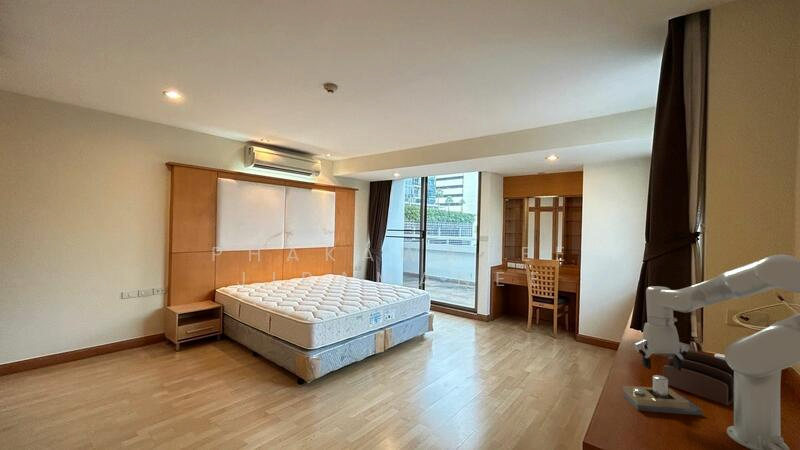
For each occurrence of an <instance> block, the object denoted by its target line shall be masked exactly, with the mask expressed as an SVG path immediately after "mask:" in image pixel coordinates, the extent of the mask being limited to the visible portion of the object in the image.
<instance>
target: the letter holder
mask: <svg viewBox="0 0 800 450" xmlns="http://www.w3.org/2000/svg"><path fill="white" fill-rule="evenodd" d="M680 350H682V348H680ZM671 355H672V356H669V357H668V358H667V365H664V366H662V376H663V377H666V378H667V379H668V387H673V388H675V389H678V390H681V391H683V390H684V392H686V391H687V393H689V392H690V394H692V393H693V394H692V395H695V394H696V395H695V396H697V397H701V398H704V397H705V398H704V399H707V398H708V399H707V400H710V399H711V400H710V401H712V400H714V401H713V402H715V401H717V402H716V403H718V402H720V403H719V404H721V403H722V404H721V405H724V404H725V406H727V405H728V406H729V404H730V405H731V404H733V403H734V370H733V369H732V368H730V366H729V365H728V364H727V362H726V361H725V360H723V359H720V358H717V357H714V356H713V355H709V354H706V353H704V352H703V353H702V352H698V351H693V350H690V349H689V350H688V352H687V354H686V355H685V356H684V357H683V359H682V367H681V371H679V370H677V369H676V368H674V367H673V356H675V355H674V354H671Z"/></svg>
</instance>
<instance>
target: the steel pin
mask: <svg viewBox="0 0 800 450" xmlns="http://www.w3.org/2000/svg"><path fill="white" fill-rule="evenodd" d="M652 388H653V396H654V397H655V398H660V399H668V389H669V385H668V379H667V378H666V377H663V375H660V374H654V375H652Z"/></svg>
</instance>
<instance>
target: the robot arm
mask: <svg viewBox="0 0 800 450" xmlns="http://www.w3.org/2000/svg"><path fill="white" fill-rule="evenodd" d="M776 289H782V290H785V291H788V292H793V293H795V294H796V293H797V294H800V259H799V258H797V257H796V256H793V255H791V254H790V255H789V254H784V253H783V254H774V255H769V256H767V257H763V258H762V259H759V260H757V261H754V262H751V263H748V264H745V265H742V266H739V267H737V268H732V269H730V270H727V271H725V272H722V273H720V274H719V275H718V276H715V277H714V278H711V279H709V280H704V281H702V282H700V283H696V284H694V285H690V286H687V287H683V288H680V289H671V288H670V287H667V286H659V285H656V286H653V285H651V286H648V287H647V288H646V289H645V296H646V297H645V299H646V300H645V301H646V319H647V322H645V323H644V325H643V332H642V339H641V340H639V341H638V342H635V343H634V344H633V346H634V348H635V349H636V350H637V352H638V354H640V355H641V356H642V365H643V366H644V367H645V368H646V369H648V370H651V369H652V361H651V360H652V359H651V357H650V356H651V355H653V354H659V355H660V354H664V355H665V354H666V355H672V354H674V355H675V356H673V367H674V368H676V369H677V370H679V371H681V367H682V359H683V357H684V356H685V355H686V354H687V352H688V350H689V351H690V346H689V345H687V344H685V343H682V342H681V341H680V338H679V333H678V329H677V327H676V325H675V323H677V322H678V319H677V317H674V311H676V312H679V313H691V312H693V311H695V310H697V309H701V308H704V307H707V306H710V305H714V304H717V303H721V302H725V301H728V300H733V299H734V300H735V299H736V300H737V299H743V298H747V297H751V296H755V295H758V294H761V293H764V292H768V291H772V290H776ZM642 348H643V349H642ZM680 349H682V350H680ZM724 355H725V360H726V362H727V364H728V365H729V366H730V368H732V369H733V370H734V401H733V425H730V426H728V427H727V428H726V433H727V435H728V436H729V438H730V439H732V440H733V441H735V442H736V443H737V444H739V445H741V446H743V447H745V448H747V449H750V450H791V449H790V448H789V446H788V445H787V444H786V443H785V442H784V437H782V436H781V378H782V370H785V369H787V368H790V367H792V366H794V365H795V366H796V365H797V364H800V312H798V313H797V314H794V315H791V316H790V317H787V318H784V319H780V320H778V321H775V322H774V323H772V324H771V325H769V326H767V327H766V328H764V329H761V330H759V331H756V332H755V333H752V334H751V335H746V336H743V337H740V338H738V339H737V340H735V341H734V342H732V343H731V344H729V345H728V346H727V347H726V349H725V351H724Z"/></svg>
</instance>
